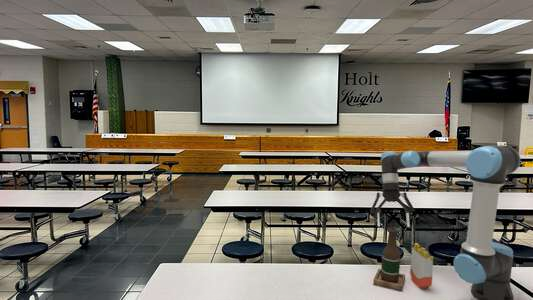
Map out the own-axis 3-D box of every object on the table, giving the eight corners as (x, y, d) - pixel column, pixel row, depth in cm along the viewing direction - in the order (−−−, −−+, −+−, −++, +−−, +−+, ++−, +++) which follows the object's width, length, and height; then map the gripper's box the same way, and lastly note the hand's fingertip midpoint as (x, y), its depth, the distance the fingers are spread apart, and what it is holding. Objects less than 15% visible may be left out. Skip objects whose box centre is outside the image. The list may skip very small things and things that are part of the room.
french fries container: (419, 278, 164) (421, 241, 162) (432, 290, 153) (435, 251, 151) (409, 278, 163) (412, 241, 161) (422, 291, 153) (425, 251, 150)
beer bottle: (400, 285, 155) (403, 232, 152) (381, 283, 157) (384, 231, 154) (397, 277, 163) (400, 226, 160) (379, 275, 164) (382, 225, 161)
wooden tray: (405, 279, 162) (405, 274, 162) (401, 291, 152) (402, 286, 151) (378, 273, 168) (378, 268, 168) (373, 284, 157) (373, 279, 157)
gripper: (415, 183, 176) (419, 227, 171) (364, 184, 181) (366, 226, 176) (418, 181, 169) (422, 226, 164) (365, 182, 174) (367, 226, 169)
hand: (393, 226), depth 170 cm, fingers open, 13 cm apart
